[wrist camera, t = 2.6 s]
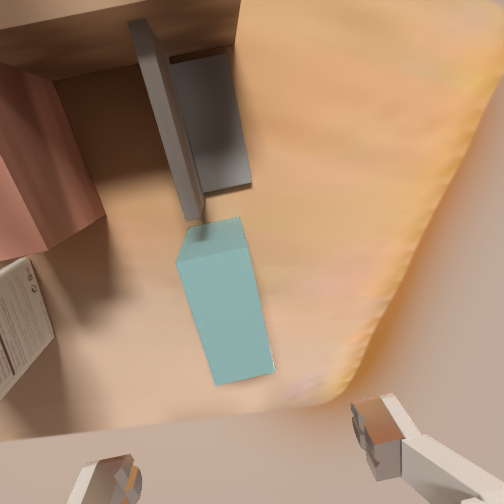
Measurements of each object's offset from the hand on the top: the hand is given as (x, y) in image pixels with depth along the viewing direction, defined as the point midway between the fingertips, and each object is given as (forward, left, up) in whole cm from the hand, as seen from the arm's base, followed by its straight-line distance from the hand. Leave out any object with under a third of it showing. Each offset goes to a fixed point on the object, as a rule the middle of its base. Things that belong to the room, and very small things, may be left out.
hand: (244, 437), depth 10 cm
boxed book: (0, 0, -14) cm, 14 cm away
